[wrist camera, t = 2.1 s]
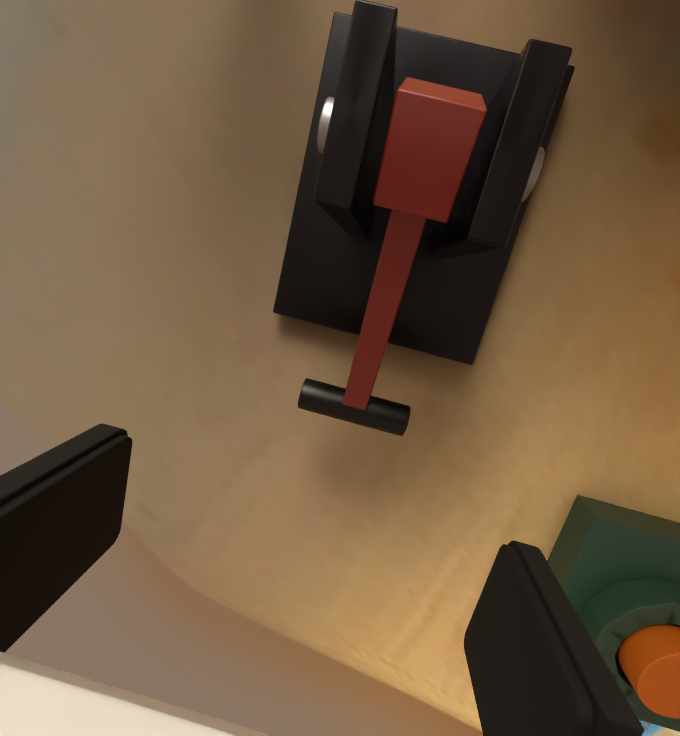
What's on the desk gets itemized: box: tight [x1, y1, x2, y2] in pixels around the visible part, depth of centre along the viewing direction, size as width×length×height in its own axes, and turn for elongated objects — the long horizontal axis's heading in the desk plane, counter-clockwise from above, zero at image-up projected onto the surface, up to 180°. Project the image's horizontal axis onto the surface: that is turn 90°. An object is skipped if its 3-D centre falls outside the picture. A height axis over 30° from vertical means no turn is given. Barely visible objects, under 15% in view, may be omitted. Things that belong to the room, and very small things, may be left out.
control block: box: [547, 495, 680, 731], centre depth 23 cm, size 12×10×4 cm
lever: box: [298, 77, 487, 436], centre depth 15 cm, size 13×5×2 cm, turn 166°
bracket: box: [273, 0, 574, 365], centre depth 15 cm, size 14×11×12 cm
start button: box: [619, 624, 680, 719], centre depth 21 cm, size 4×4×2 cm
